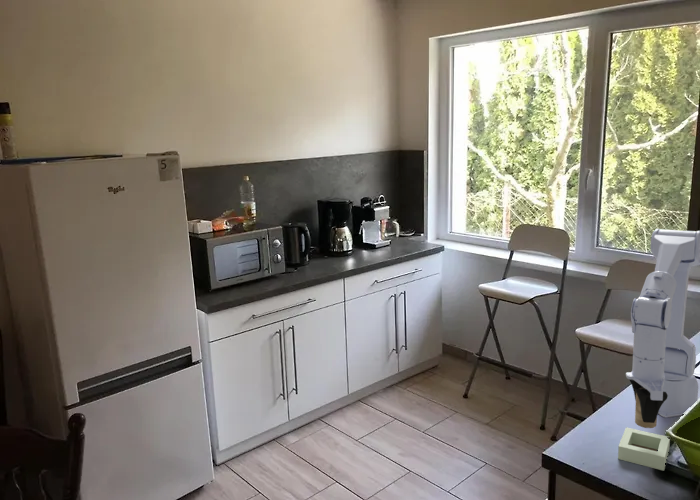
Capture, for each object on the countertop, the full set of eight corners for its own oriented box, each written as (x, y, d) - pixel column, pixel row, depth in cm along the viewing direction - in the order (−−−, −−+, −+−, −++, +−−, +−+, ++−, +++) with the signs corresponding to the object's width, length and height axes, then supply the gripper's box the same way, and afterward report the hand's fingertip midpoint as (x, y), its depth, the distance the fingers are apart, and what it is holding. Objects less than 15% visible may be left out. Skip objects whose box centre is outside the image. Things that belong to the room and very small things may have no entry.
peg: (661, 426, 117) (662, 394, 115) (644, 429, 116) (645, 398, 114) (647, 416, 121) (648, 386, 119) (630, 420, 120) (631, 389, 118)
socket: (625, 439, 126) (626, 427, 125) (669, 449, 121) (670, 437, 120) (618, 458, 119) (618, 446, 118) (664, 470, 114) (664, 457, 113)
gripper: (619, 340, 123) (617, 398, 126) (635, 369, 109) (632, 433, 112) (655, 341, 121) (652, 400, 124) (676, 370, 107) (672, 435, 110)
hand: (645, 416), depth 118 cm, fingers closed on peg, 4 cm apart
